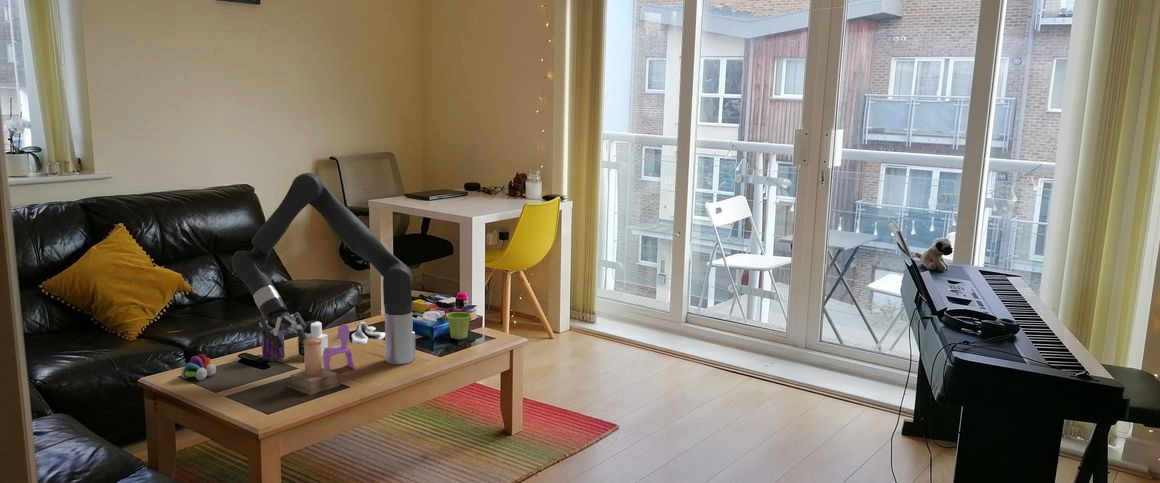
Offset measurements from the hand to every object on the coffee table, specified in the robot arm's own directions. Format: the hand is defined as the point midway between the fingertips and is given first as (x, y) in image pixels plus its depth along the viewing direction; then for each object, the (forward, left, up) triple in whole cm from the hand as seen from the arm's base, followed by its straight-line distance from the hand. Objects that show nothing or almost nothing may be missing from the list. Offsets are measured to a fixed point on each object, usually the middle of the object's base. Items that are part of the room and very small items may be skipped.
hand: (293, 344), depth 271 cm
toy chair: (-15, +3, -12) cm, 20 cm away
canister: (0, +10, -8) cm, 12 cm away
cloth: (-44, -22, -13) cm, 51 cm away
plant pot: (-67, +7, -12) cm, 69 cm away
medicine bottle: (-19, -16, -12) cm, 28 cm away
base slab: (0, +10, -12) cm, 15 cm away
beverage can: (-8, -23, -12) cm, 27 cm away
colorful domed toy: (+17, -26, -12) cm, 33 cm away
